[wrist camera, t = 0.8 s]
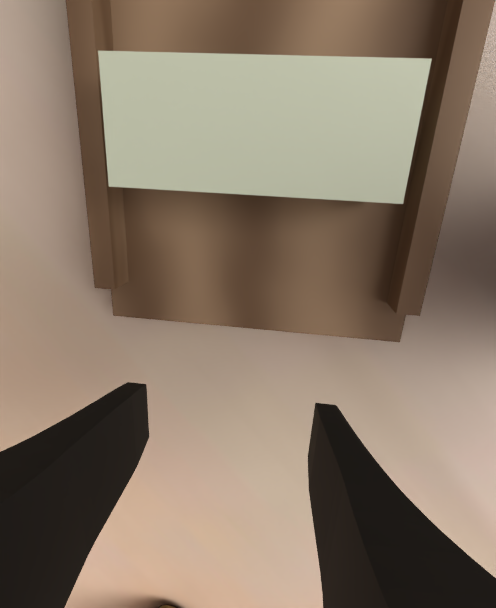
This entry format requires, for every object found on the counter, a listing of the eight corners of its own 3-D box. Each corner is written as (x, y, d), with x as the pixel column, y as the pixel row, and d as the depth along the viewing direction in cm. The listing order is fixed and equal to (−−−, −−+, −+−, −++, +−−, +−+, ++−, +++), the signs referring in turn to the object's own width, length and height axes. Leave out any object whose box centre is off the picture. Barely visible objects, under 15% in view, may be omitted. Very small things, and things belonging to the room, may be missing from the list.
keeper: (390, 95, 13) (431, 58, 10) (373, 199, 15) (402, 204, 11) (147, 86, 14) (97, 50, 10) (151, 186, 16) (108, 186, 12)
